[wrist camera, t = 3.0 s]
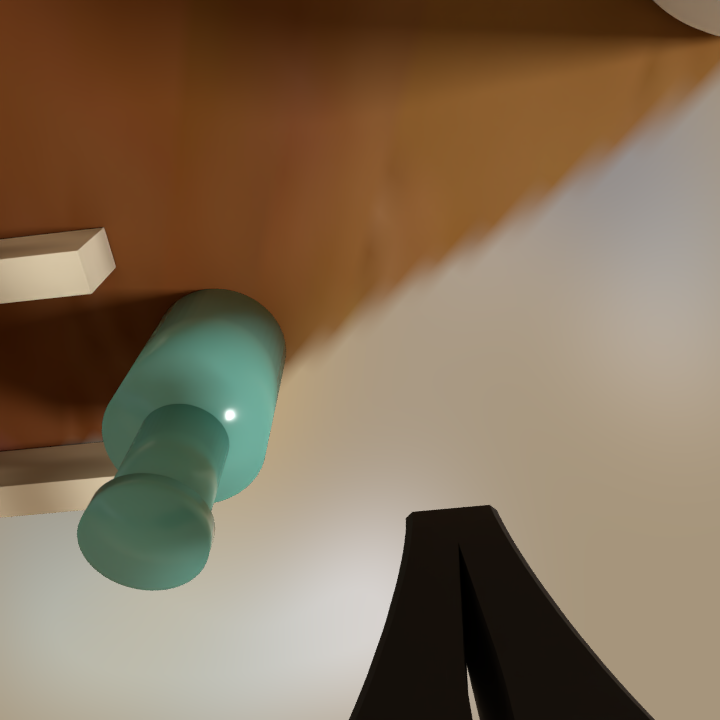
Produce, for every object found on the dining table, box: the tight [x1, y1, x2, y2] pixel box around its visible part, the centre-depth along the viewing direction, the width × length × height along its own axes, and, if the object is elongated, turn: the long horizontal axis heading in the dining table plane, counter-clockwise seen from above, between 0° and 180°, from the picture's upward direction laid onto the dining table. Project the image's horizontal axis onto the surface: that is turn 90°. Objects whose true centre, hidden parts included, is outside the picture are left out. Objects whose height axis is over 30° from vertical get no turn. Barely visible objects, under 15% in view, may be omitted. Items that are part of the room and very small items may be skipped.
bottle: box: [77, 289, 286, 590], centre depth 17 cm, size 4×4×8 cm
